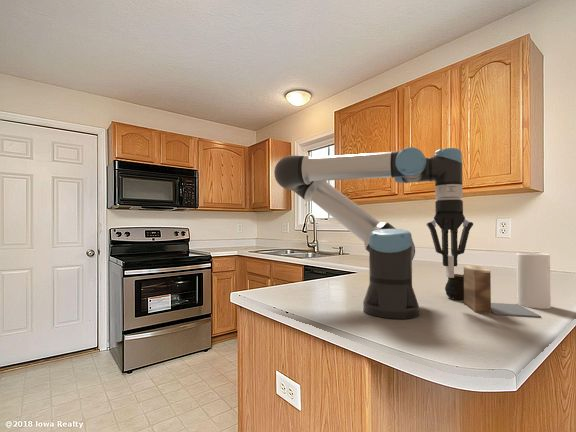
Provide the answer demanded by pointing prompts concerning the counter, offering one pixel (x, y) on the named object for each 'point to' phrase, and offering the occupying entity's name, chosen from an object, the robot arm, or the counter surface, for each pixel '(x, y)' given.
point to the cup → (533, 280)
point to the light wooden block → (477, 289)
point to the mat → (511, 310)
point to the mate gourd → (455, 287)
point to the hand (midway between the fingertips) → (450, 276)
